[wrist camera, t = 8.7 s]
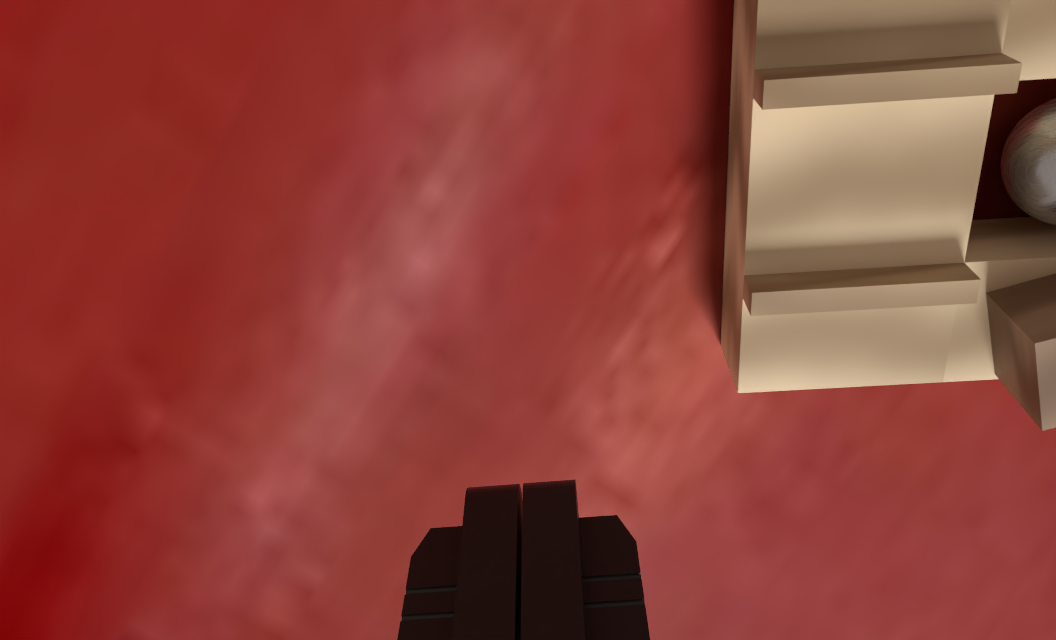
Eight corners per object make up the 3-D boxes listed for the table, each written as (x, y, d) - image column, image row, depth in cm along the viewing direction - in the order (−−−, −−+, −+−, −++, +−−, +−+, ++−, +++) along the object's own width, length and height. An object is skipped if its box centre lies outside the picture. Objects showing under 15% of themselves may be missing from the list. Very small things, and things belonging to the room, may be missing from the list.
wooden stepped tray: (737, -81, 33) (783, -60, 27) (1244, -118, 32) (1412, -105, 26) (720, 345, 42) (753, 435, 35) (1120, 322, 41) (1224, 410, 35)
